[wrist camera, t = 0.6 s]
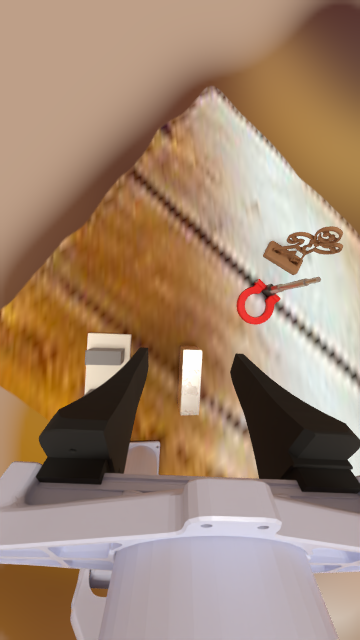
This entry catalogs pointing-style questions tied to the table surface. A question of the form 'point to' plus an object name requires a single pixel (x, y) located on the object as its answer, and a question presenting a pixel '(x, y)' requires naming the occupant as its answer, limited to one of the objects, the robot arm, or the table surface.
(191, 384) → the white long rectangular piece
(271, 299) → the tow hook
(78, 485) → the robot arm
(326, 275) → the table surface
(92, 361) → the peg rack
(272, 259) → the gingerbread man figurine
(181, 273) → the table surface
